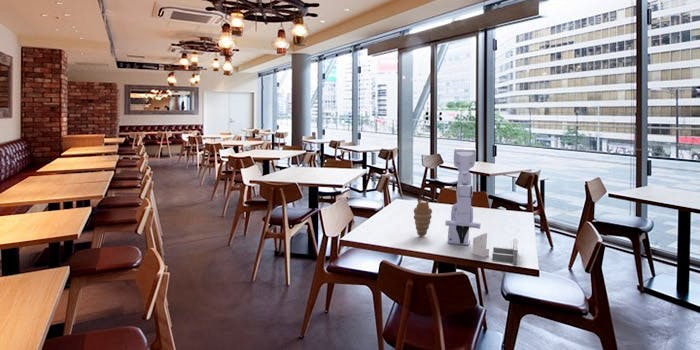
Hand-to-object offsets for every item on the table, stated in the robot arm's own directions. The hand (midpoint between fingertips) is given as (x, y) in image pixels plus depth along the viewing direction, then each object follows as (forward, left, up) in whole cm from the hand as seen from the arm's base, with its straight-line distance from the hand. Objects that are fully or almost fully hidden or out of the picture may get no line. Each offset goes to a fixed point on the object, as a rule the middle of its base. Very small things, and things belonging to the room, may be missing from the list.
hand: (461, 243), depth 200 cm
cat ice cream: (-21, +20, -4) cm, 29 cm away
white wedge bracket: (+8, 0, -4) cm, 9 cm away
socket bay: (+17, 0, -4) cm, 17 cm away
